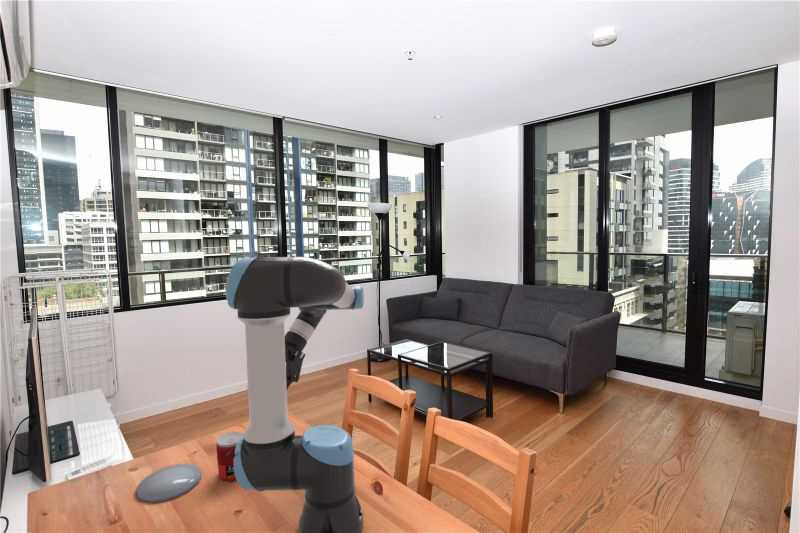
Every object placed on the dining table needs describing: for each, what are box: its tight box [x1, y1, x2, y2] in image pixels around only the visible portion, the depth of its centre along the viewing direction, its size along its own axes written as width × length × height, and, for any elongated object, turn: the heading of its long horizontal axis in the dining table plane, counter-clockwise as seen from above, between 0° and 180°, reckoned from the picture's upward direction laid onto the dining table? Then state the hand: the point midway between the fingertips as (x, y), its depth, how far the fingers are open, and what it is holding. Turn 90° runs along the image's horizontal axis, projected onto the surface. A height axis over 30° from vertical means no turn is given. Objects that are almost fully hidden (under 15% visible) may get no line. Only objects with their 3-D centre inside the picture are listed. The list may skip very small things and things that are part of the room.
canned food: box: [215, 431, 244, 482], centre depth 121 cm, size 8×8×11 cm
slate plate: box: [136, 463, 202, 503], centre depth 118 cm, size 16×16×1 cm
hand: (261, 395), depth 129 cm, fingers open, 13 cm apart
